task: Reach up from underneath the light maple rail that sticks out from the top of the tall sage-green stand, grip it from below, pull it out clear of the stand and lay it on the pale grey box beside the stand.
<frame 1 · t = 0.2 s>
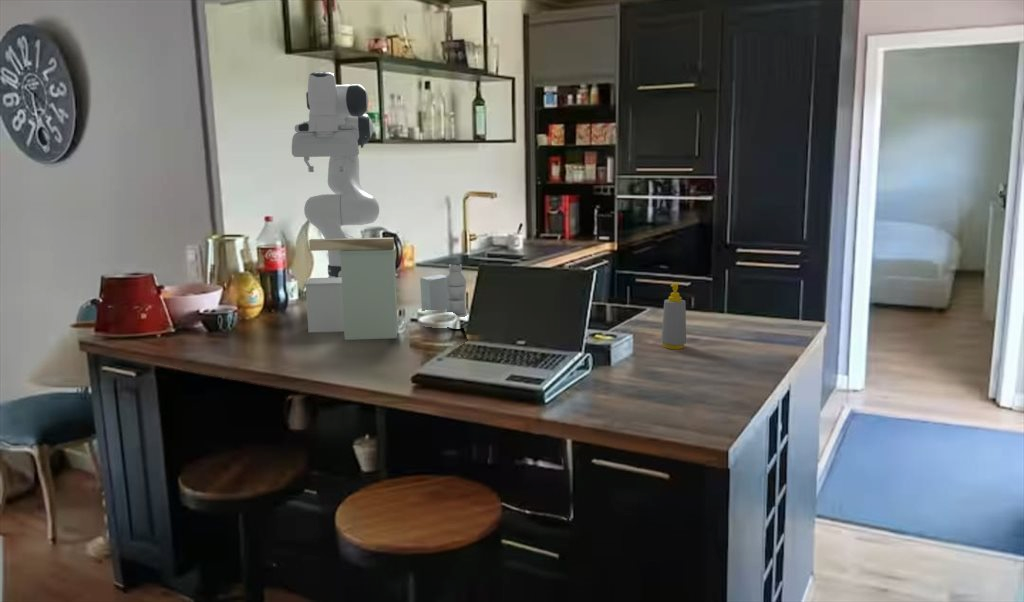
hand: (326, 171, 248), 48 cm above the counter, tool pointing down, fingers open, 8 cm apart
grey box: (330, 328, 249), on the counter
stand: (371, 335, 239), on the counter
plastic bottle: (456, 329, 246), on the counter
soap bottle: (673, 347, 222), on the counter
skincare box: (436, 322, 256), on the counter
rail: (352, 249, 233), point 26 cm above the counter, touching stand
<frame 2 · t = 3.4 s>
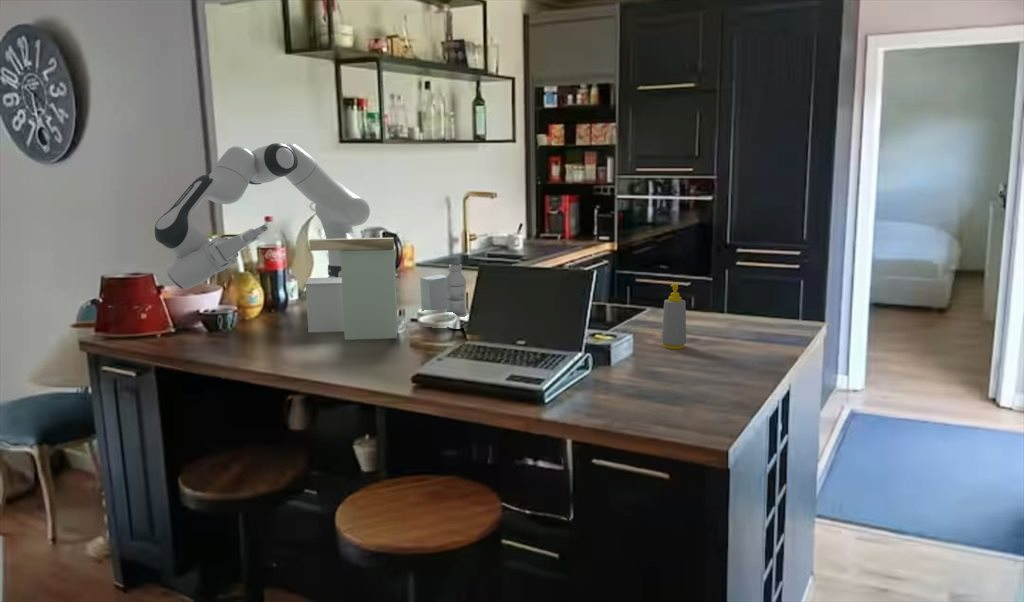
hand: (263, 228, 229), 33 cm above the counter, tool pointing upward, fingers open, 8 cm apart
nothing on the counter moved.
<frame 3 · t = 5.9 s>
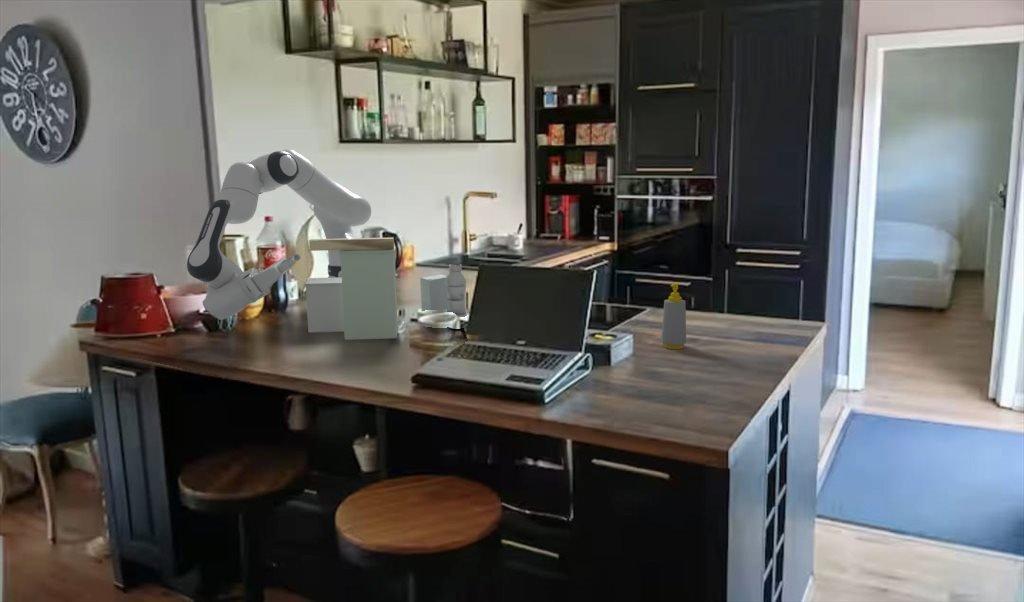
hand: (296, 258, 232), 24 cm above the counter, tool pointing upward, fingers open, 8 cm apart
nothing on the counter moved.
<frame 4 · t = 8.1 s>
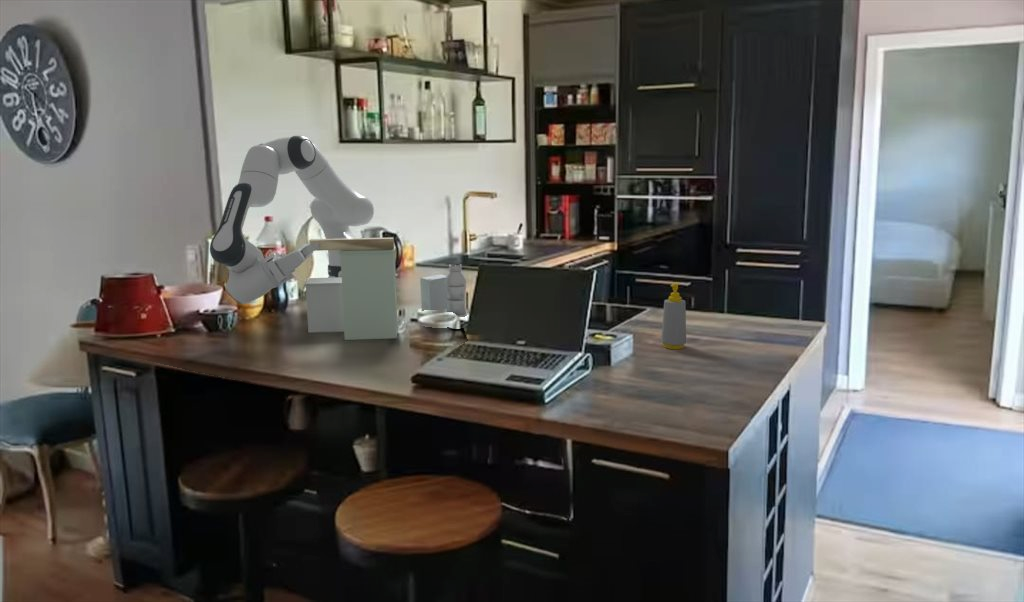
hand: (319, 243, 232), 28 cm above the counter, tool pointing upward, fingers closed on rail, 3 cm apart
rail: (352, 249, 233), point 26 cm above the counter, touching gripper, stand
everything else where it was.
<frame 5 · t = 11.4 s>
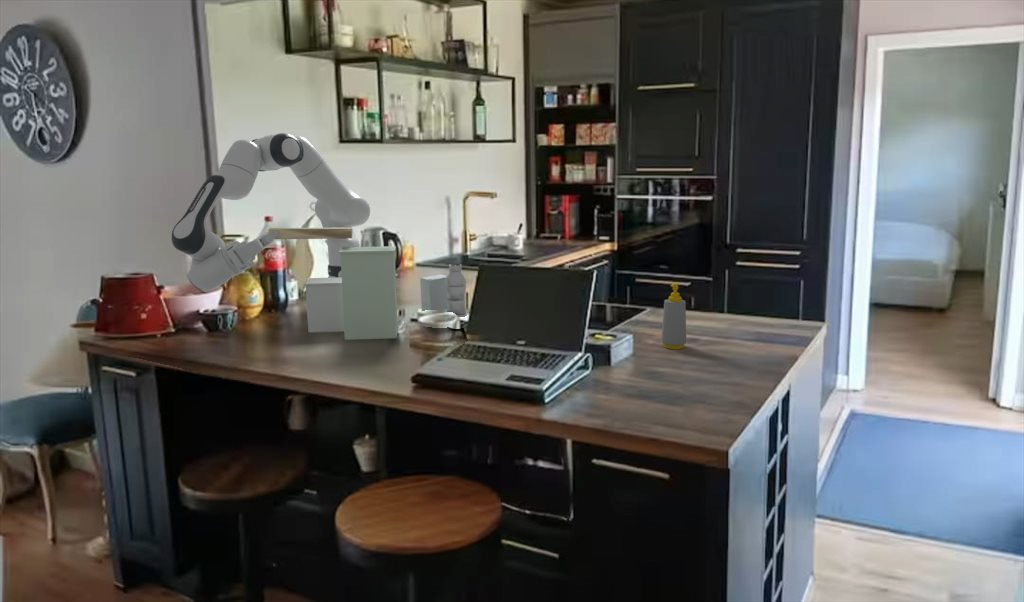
hand: (279, 231, 237), 31 cm above the counter, tool pointing upward, fingers closed on rail, 3 cm apart
rail: (311, 238, 239), point 29 cm above the counter, touching gripper
everything else where it was.
when the fingers open (19 cm above the counter, at t = 14.6 s): rail drops 2 cm, resting on grey box.
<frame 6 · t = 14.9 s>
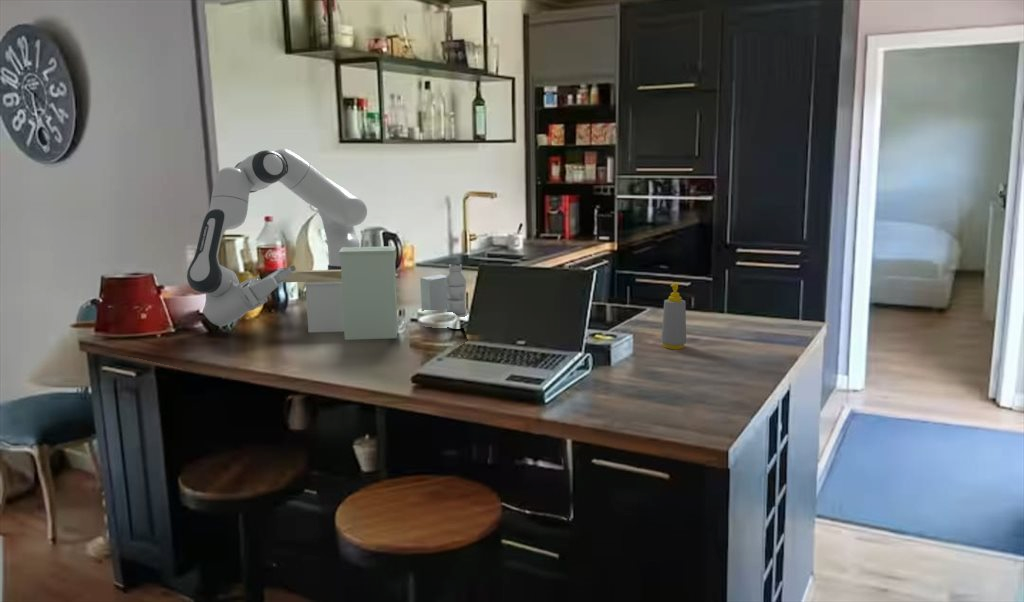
hand: (293, 268, 244), 19 cm above the counter, tool pointing upward, fingers open, 6 cm apart
rail: (324, 280, 246), point 15 cm above the counter, touching grey box
everything else where it was.
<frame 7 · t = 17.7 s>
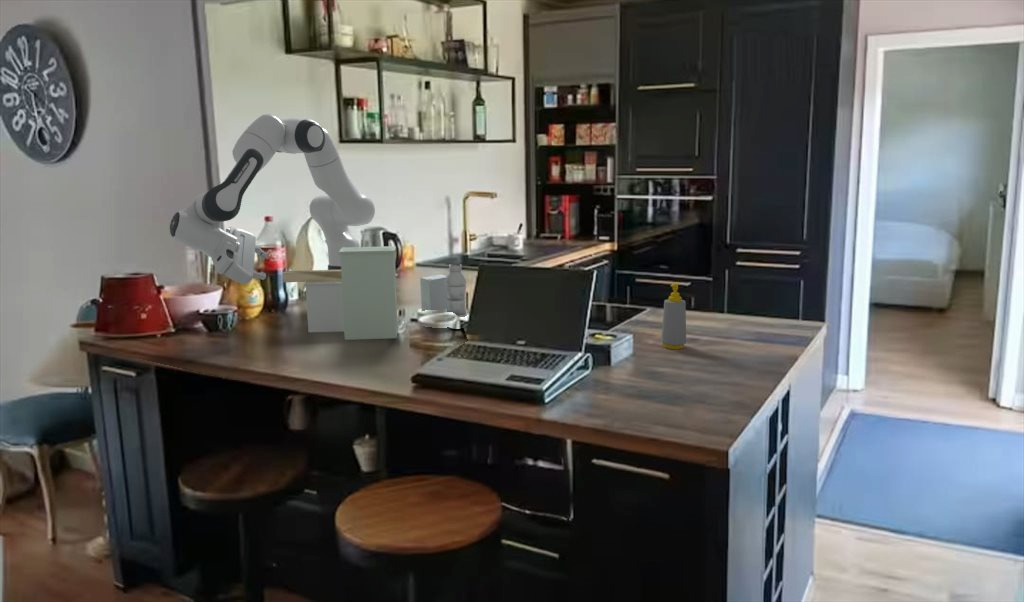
hand: (265, 266, 246), 19 cm above the counter, tool tilted 60°, fingers open, 8 cm apart
nothing on the counter moved.
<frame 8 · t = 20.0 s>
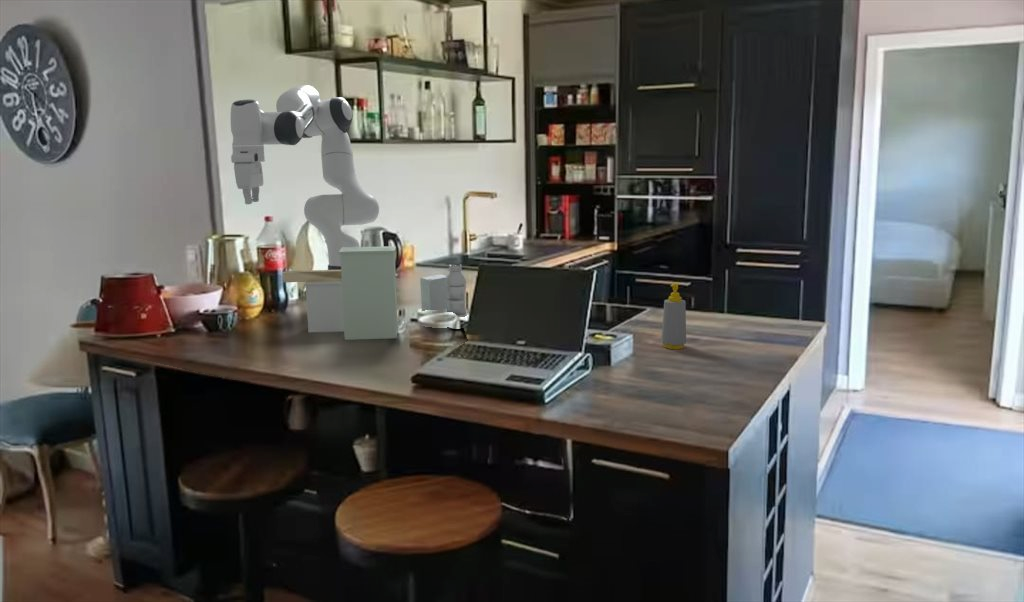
hand: (252, 203, 239), 39 cm above the counter, tool pointing down, fingers open, 8 cm apart
nothing on the counter moved.
at the end: rail inside the target area (0.7 cm from its centre), point 15.1 cm above the counter; the gripper is holding nothing; rail moved 18.9 cm from its start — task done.
